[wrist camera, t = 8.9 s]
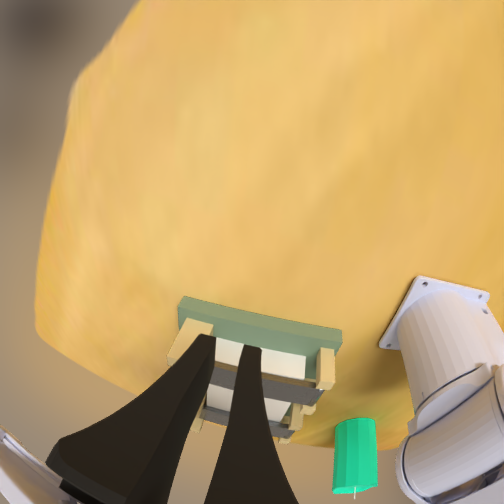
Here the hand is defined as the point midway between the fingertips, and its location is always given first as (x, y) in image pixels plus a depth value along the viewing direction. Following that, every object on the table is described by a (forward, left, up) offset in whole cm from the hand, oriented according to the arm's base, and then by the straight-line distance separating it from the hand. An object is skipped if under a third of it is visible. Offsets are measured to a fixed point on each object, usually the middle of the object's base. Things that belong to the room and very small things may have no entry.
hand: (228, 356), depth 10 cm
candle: (-18, +26, -11) cm, 33 cm away
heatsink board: (-1, +16, -10) cm, 19 cm away
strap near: (-2, +11, -6) cm, 13 cm away
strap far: (-2, +20, -6) cm, 21 cm away
